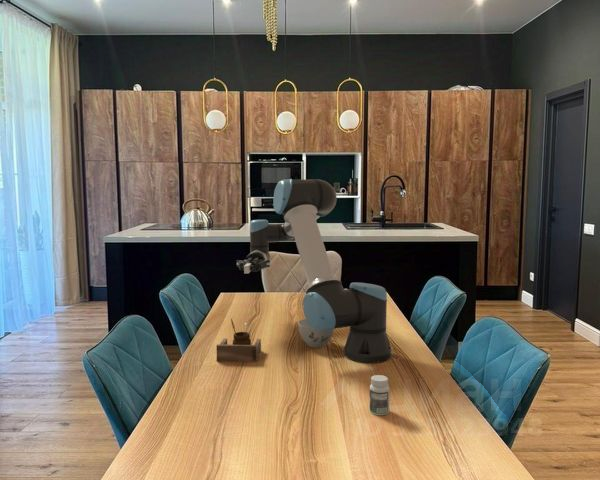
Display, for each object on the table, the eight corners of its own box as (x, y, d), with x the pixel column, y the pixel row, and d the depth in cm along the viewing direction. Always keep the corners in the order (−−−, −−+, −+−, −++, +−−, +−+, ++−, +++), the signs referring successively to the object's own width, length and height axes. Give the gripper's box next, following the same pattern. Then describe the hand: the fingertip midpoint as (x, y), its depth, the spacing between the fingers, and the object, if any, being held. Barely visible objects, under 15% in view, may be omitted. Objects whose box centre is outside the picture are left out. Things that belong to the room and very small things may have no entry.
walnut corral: (223, 350, 169) (223, 335, 169) (260, 350, 169) (260, 336, 168) (216, 361, 159) (216, 345, 158) (256, 361, 158) (256, 346, 158)
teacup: (333, 352, 167) (333, 328, 166) (295, 350, 169) (295, 327, 168) (335, 338, 182) (335, 316, 181) (301, 337, 184) (301, 315, 183)
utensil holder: (250, 358, 162) (249, 321, 160) (230, 358, 162) (229, 321, 160) (252, 352, 167) (251, 316, 166) (232, 352, 167) (232, 316, 166)
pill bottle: (375, 405, 127) (376, 372, 126) (392, 410, 124) (393, 377, 123) (365, 412, 123) (366, 378, 122) (382, 417, 120) (383, 383, 119)
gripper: (272, 270, 200) (265, 280, 177) (239, 270, 201) (227, 280, 178) (272, 251, 200) (264, 258, 176) (239, 251, 200) (227, 259, 177)
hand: (246, 269), depth 177 cm, fingers closed
